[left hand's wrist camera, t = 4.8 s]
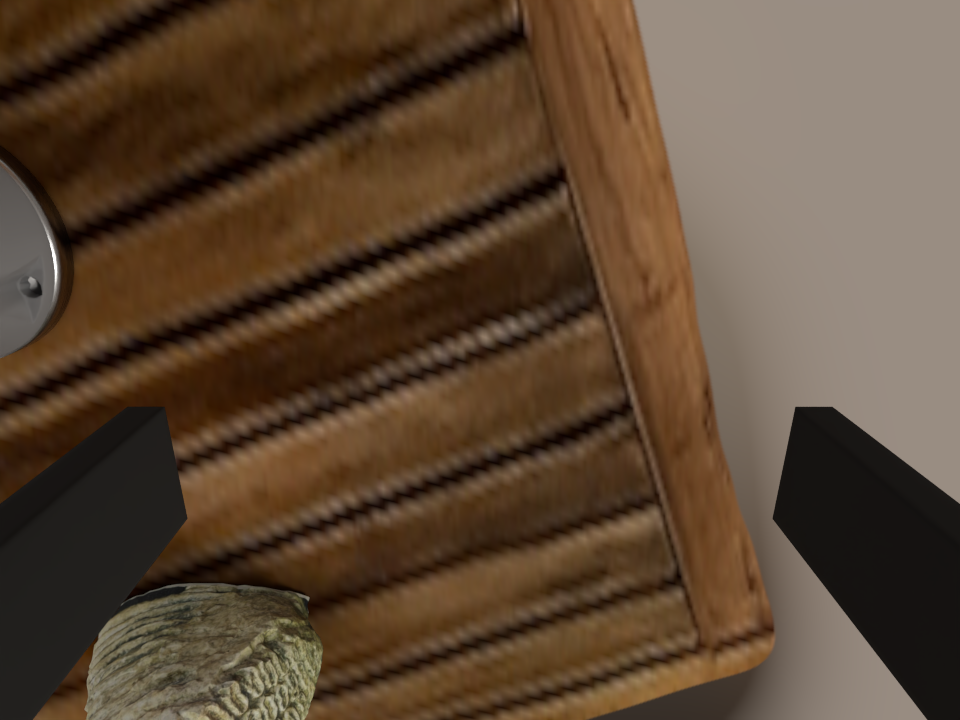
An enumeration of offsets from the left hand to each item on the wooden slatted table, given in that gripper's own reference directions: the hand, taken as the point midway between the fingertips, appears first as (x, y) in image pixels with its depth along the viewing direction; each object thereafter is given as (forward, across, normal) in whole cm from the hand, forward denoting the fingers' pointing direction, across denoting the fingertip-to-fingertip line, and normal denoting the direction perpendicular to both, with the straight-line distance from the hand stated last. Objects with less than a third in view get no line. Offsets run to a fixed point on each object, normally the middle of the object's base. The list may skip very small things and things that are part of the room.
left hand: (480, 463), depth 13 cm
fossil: (+28, +21, +31) cm, 46 cm away
